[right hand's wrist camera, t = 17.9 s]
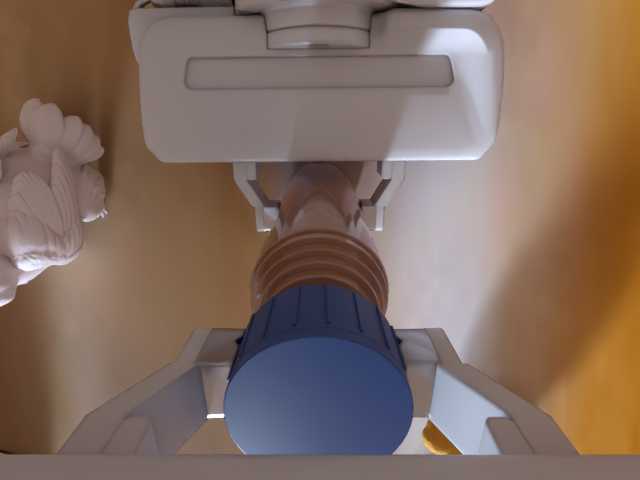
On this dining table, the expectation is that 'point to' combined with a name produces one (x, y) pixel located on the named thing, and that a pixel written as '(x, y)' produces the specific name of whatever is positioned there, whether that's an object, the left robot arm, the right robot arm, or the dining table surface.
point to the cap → (318, 378)
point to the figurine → (45, 193)
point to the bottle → (319, 241)
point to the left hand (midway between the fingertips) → (320, 228)
